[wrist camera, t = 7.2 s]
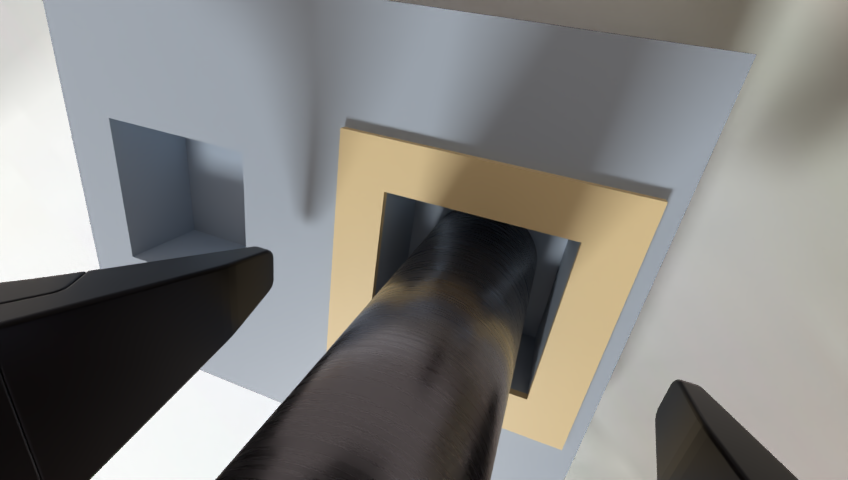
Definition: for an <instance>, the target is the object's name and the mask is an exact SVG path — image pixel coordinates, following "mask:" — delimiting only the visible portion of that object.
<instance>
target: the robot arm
mask: <svg viewBox="0 0 848 480" xmlns="http://www.w3.org/2000/svg"><path fill="white" fill-rule="evenodd" d="M273 281H274V257H273V253H272V252H271V251H270V250H267V249H264V248H261V247H257V246H253V247H246V248H240V249H233V250H226V251H219V252H213V253H206V254H199V255H192V256H186V257H179V258H172V259H165V260H159V261H152V262H145V263H138V264H132V265H125V266H118V267H112V268H105V269H98V270H91V271H88V272H77V273H71V274H64V275H57V276H49V277H42V278H35V279H27V280H19V281H10V282H2V283H0V480H90V479H91V478H92V477H93V476H94V475H95V474H96V473H97V472H98V471H99V470H100V469H101V468H102V467H103V466H104V465H105V464H106V463H107V462H108V461H109V460H110V459H111V458H112V457H113V456H114V455H115V454H116V453H117V452H118V451H119V450H120V449H121V448H122V447H123V446H124V445H125V444H126V443H127V442H128V441H129V440H130V439H131V438H132V437H133V436H134V435H135V434H136V433H137V432H138V431H139V430H140V429H141V428H142V427H143V426H144V425H145V424H146V423H147V422H148V421H149V420H150V419H151V418H152V417H153V416H154V415H155V414H156V413H157V412H158V411H159V410H160V409H161V408H162V407H163V406H164V405H165V404H166V403H167V402H168V401H169V400H170V399H171V398H172V397H173V396H174V395H175V394H176V393H177V392H178V391H179V390H180V389H181V388H182V387H183V386H184V385H185V384H186V383H187V382H188V381H189V380H190V379H191V378H192V377H193V376H194V375H195V374H196V373H197V372H198V371H199V370H200V369H201V368H202V367H203V366H204V365H205V363H206V362H207V361H208V360H209V359H210V358H211V357H212V356H213V355H214V354H215V353H216V352H217V351H218V350H219V349H220V348H221V347H222V346H223V345H224V344H225V343H226V342H227V341H228V340H229V339H230V338H231V337H232V336H233V335H234V334H235V332H236V331H237V330H238V329H239V328H240V327H241V325H242V324H243V323H244V322H245V320H246V319H247V318H248V317H249V316H250V314H251V313H252V312H253V311H254V309H255V308H256V307H257V306H258V305H259V303H260V302H261V301H262V300H263V298H264V297H265V296H266V295H267V293H268V292H269V291H270V289H271V288H272V285H273ZM655 428H656V458H657V480H798V479H797V478H796V477H795V476H794V475H793V474H792V473H791V472H790V471H789V470H788V469H787V468H786V467H785V466H784V465H783V464H782V463H780V462H779V461H778V460H777V459H776V458H775V457H774V456H773V455H772V454H771V453H770V452H769V451H768V450H767V449H766V448H765V447H764V446H763V445H762V444H761V443H759V442H758V441H757V440H756V439H755V438H754V437H753V436H752V435H751V434H750V433H749V432H748V431H747V430H746V429H745V428H744V427H743V426H742V425H741V424H740V423H738V422H737V421H736V420H735V419H734V418H733V417H732V416H731V415H730V414H729V413H728V412H727V411H726V410H725V409H724V408H723V407H722V406H721V405H720V404H719V403H717V402H716V401H715V400H714V399H713V398H712V397H711V396H710V395H709V394H708V393H707V392H706V391H705V390H704V389H703V388H702V387H700V386H698V385H696V384H692V383H689V382H686V381H683V380H679V379H678V380H675V381H674V382H673V383H672V384H671V386H670V387H669V389H668V391H667V393H666V395H665V397H664V399H663V400H662V402H661V404H660V406H659V408H658V410H657V413H656V419H655Z"/></svg>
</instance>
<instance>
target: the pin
mask: <svg viewBox="0 0 848 480" xmlns="http://www.w3.org/2000/svg"><path fill="white" fill-rule="evenodd" d="M536 266H537V251H536V247H535V244H534V241H533V238H532V237H531V235H530V233H529V231H528V230H527V229H526V228H523V227H519V226H515V225H511V224H507V223H503V222H499V221H495V220H492V219H488V218H484V217H480V216H476V215H472V214H468V213H465V212H461V211H457V210H453V211H451V212H450V213H448V214H447V215H446V216H445V217H443V218H442V219H441V220H440V222H439V223H438V224H437V225H436V226H435V227H434V228H433V230H432V231H431V232H430V233H429V234H428V235H427V237H426V238H425V239H424V240H423V241H422V242H421V243H420V245H419V246H418V247H417V248H416V249H415V250H414V251H413V253H412V254H411V255H410V256H409V257H408V258H407V260H406V261H405V262H404V263H403V264H402V265H401V266H400V268H399V269H398V270H397V271H396V272H395V273H394V275H393V276H392V277H391V278H390V279H389V280H388V281H387V283H386V284H385V285H384V286H383V287H382V288H381V290H380V291H379V292H378V293H377V294H376V295H375V296H374V298H373V299H372V300H371V301H370V302H369V303H368V305H367V306H366V307H365V308H364V309H363V310H362V311H361V313H360V314H359V315H358V316H357V317H356V318H355V319H354V321H353V322H352V323H351V324H350V325H349V326H348V328H347V329H346V330H345V331H344V332H343V333H342V334H341V336H340V337H339V338H338V339H337V340H336V341H335V343H334V344H333V345H332V346H331V347H330V348H329V349H328V351H327V352H326V353H325V354H324V355H323V356H322V358H321V359H320V360H319V361H318V362H317V363H316V364H315V366H314V367H313V368H312V369H311V370H310V371H309V372H308V374H307V375H306V376H305V377H304V378H303V379H302V381H301V382H300V383H299V384H298V385H297V386H296V387H295V389H294V390H293V391H292V392H291V393H290V394H289V396H288V397H287V398H286V399H285V400H284V401H283V402H282V404H281V405H280V406H279V407H278V408H277V409H276V411H275V412H274V413H273V414H272V415H271V416H270V417H269V419H268V420H267V421H266V422H265V423H264V424H263V426H262V427H261V428H260V429H259V430H258V431H257V432H256V434H255V435H254V436H253V437H252V438H251V439H250V440H249V442H248V443H247V444H246V445H245V446H244V447H243V449H242V450H241V451H240V452H239V453H238V454H237V455H236V457H235V458H234V459H233V460H232V461H231V462H230V464H229V465H228V466H227V467H226V468H225V469H224V470H223V472H222V473H221V474H220V475H219V476H218V477H217V479H216V480H491V475H492V471H493V466H494V462H495V457H496V452H497V448H498V443H499V438H500V434H501V429H502V424H503V420H504V415H505V410H506V406H507V401H508V397H509V392H510V387H511V383H512V378H513V373H514V369H515V364H516V359H517V355H518V350H519V345H520V341H521V336H522V331H523V327H524V322H525V318H526V313H527V308H528V304H529V299H530V294H531V290H532V285H533V280H534V276H535V271H536Z"/></svg>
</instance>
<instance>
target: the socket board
mask: <svg viewBox="0 0 848 480" xmlns="http://www.w3.org/2000/svg"><path fill="white" fill-rule="evenodd" d="M43 3H44V8H45V13H46V17H47V22H48V27H49V31H50V36H51V41H52V45H53V50H54V55H55V59H56V64H57V69H58V74H59V78H60V83H61V88H62V92H63V97H64V102H65V106H66V111H67V116H68V120H69V125H70V130H71V134H72V139H73V144H74V149H75V153H76V158H77V163H78V167H79V172H80V177H81V181H82V186H83V191H84V195H85V200H86V205H87V210H88V214H89V219H90V224H91V228H92V233H93V238H94V242H95V247H96V252H97V256H98V261H99V266H100V269H105V268H112V267H118V266H125V265H132V264H138V263H145V262H152V261H159V260H165V259H172V258H179V257H186V256H192V255H199V254H206V253H213V252H219V251H226V250H233V249H240V248H246V247H253V246H257V247H261V248H264V249H267V250H270V251H271V252H272V253H273V257H274V281H273V285H272V288H271V289H270V291H269V292H268V293H267V295H266V296H265V297H264V298H263V300H262V301H261V302H260V303H259V305H258V306H257V307H256V308H255V309H254V311H253V312H252V313H251V314H250V316H249V317H248V318H247V319H246V320H245V322H244V323H243V324H242V325H241V327H240V328H239V329H238V330H237V331H236V332H235V334H234V335H233V336H232V337H231V338H230V339H229V340H228V341H227V342H226V343H225V344H224V345H223V346H222V347H221V348H220V349H219V350H218V351H217V352H216V353H215V354H214V355H213V356H212V357H211V358H210V359H209V360H208V361H207V362H206V363H205V365H204V366H203V367H202V368H201V369H200V370H202V371H204V372H207V373H209V374H212V375H214V376H217V377H219V378H222V379H224V380H227V381H229V382H231V383H234V384H236V385H239V386H241V387H244V388H246V389H249V390H251V391H254V392H256V393H259V394H261V395H263V396H266V397H268V398H271V399H273V400H276V401H278V402H281V403H282V402H283V401H284V400H285V399H286V398H287V397H288V396H289V394H290V393H291V392H292V391H293V390H294V389H295V387H296V386H297V385H298V384H299V383H300V382H301V381H302V379H303V378H304V377H305V376H306V375H307V374H308V372H309V371H310V370H311V369H312V368H313V367H314V366H315V364H316V363H317V362H318V361H319V360H320V359H321V358H322V356H323V355H324V354H325V353H326V352H327V351H328V349H329V348H330V347H331V346H332V345H333V344H334V343H335V341H336V340H337V339H338V338H339V337H340V336H341V334H342V333H343V332H344V331H345V330H346V329H347V328H348V326H349V325H350V324H351V323H352V322H353V321H354V319H355V318H356V317H357V316H358V315H359V314H360V313H361V311H362V310H363V309H364V308H365V307H366V306H367V305H368V303H369V302H370V301H371V300H372V299H373V298H374V296H375V295H376V294H377V293H378V292H379V291H380V290H381V288H382V287H383V286H384V285H385V284H386V283H387V281H388V280H389V279H390V278H391V277H392V276H393V275H394V273H395V272H396V271H397V270H398V269H399V268H400V266H401V265H402V264H403V263H404V262H405V261H406V260H407V258H408V257H409V256H410V255H411V254H412V253H413V251H414V250H415V249H416V248H417V247H418V246H419V245H420V243H421V242H422V241H423V240H424V239H425V238H426V237H427V235H428V234H429V233H430V232H431V231H432V230H433V228H434V227H435V226H436V225H437V224H438V223H439V222H440V220H441V219H442V218H443V217H445V216H446V215H447V214H448V213H450V212H451V211H453V210H457V211H461V212H465V213H468V214H472V215H476V216H480V217H484V218H488V219H492V220H495V221H499V222H503V223H507V224H511V225H515V226H519V227H523V228H526V229H527V230H528V231H529V233H530V235H531V237H532V238H533V241H534V244H535V247H536V251H537V266H536V271H535V276H534V280H533V285H532V290H531V294H530V299H529V304H528V308H527V313H526V318H525V322H524V327H523V331H522V336H521V341H520V345H519V350H518V355H517V359H516V364H515V369H514V373H513V378H512V383H511V387H510V392H509V397H508V401H507V406H506V410H505V415H504V420H503V424H502V429H501V434H500V438H499V443H498V448H497V452H496V457H495V462H494V466H493V471H492V475H491V480H564V479H565V477H566V475H567V473H568V470H569V468H570V466H571V464H572V461H573V459H574V457H575V455H576V453H577V450H578V448H579V446H580V444H581V442H582V439H583V437H584V435H585V433H586V431H587V428H588V426H589V424H590V422H591V419H592V417H593V415H594V413H595V411H596V408H597V406H598V404H599V402H600V400H601V397H602V395H603V393H604V391H605V388H606V386H607V384H608V382H609V380H610V377H611V375H612V373H613V371H614V369H615V366H616V364H617V362H618V360H619V358H620V355H621V353H622V351H623V349H624V346H625V344H626V342H627V340H628V338H629V335H630V333H631V331H632V329H633V327H634V324H635V322H636V320H637V318H638V315H639V313H640V311H641V309H642V307H643V304H644V302H645V300H646V298H647V296H648V293H649V291H650V289H651V287H652V285H653V282H654V280H655V278H656V276H657V273H658V271H659V269H660V267H661V265H662V262H663V260H664V258H665V256H666V254H667V251H668V249H669V247H670V245H671V243H672V240H673V238H674V236H675V234H676V231H677V229H678V227H679V225H680V223H681V220H682V218H683V216H684V214H685V212H686V209H687V207H688V205H689V203H690V200H691V198H692V196H693V194H694V192H695V189H696V187H697V185H698V183H699V181H700V178H701V176H702V174H703V172H704V170H705V167H706V165H707V163H708V161H709V158H710V156H711V154H712V152H713V150H714V147H715V145H716V143H717V141H718V139H719V136H720V134H721V132H722V130H723V128H724V125H725V123H726V121H727V119H728V116H729V114H730V112H731V110H732V108H733V105H734V103H735V101H736V99H737V97H738V94H739V92H740V90H741V88H742V85H743V83H744V81H745V79H746V77H747V74H748V72H749V70H750V68H751V66H752V63H753V61H754V59H755V57H756V54H749V53H742V52H736V51H729V50H722V49H715V48H708V47H702V46H695V45H688V44H681V43H674V42H667V41H661V40H654V39H647V38H640V37H633V36H627V35H620V34H613V33H606V32H599V31H593V30H586V29H579V28H572V27H565V26H559V25H552V24H545V23H538V22H531V21H524V20H518V19H511V18H504V17H497V16H490V15H484V14H477V13H470V12H463V11H456V10H450V9H443V8H436V7H429V6H422V5H415V4H409V3H402V2H395V1H388V0H43Z"/></svg>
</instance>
